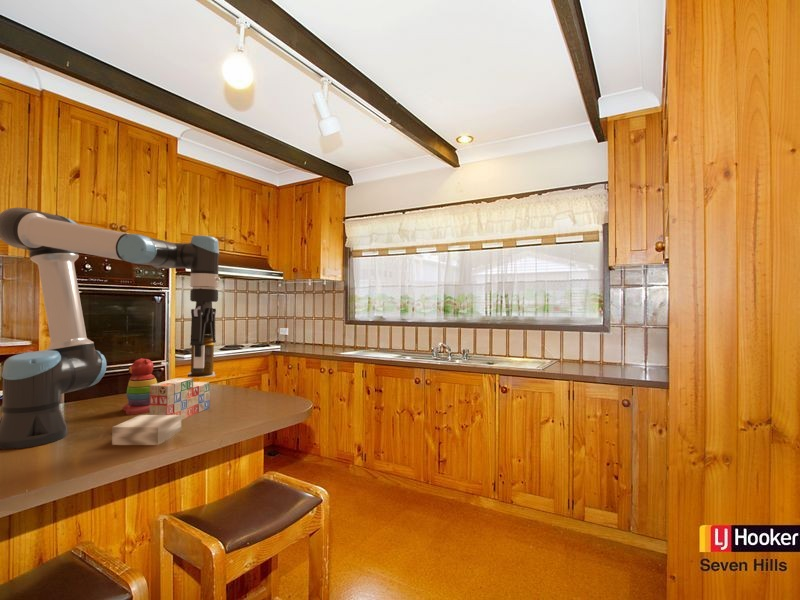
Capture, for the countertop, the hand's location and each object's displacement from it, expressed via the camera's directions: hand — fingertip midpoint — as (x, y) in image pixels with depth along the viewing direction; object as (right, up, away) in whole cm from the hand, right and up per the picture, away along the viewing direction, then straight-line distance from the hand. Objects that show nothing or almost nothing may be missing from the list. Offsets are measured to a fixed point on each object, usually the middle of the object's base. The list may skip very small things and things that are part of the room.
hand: (203, 366), depth 125 cm
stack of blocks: (-14, -19, +14) cm, 28 cm away
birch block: (-11, -19, -8) cm, 24 cm away
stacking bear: (-31, -19, +21) cm, 42 cm away
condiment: (0, -3, -1) cm, 3 cm away
